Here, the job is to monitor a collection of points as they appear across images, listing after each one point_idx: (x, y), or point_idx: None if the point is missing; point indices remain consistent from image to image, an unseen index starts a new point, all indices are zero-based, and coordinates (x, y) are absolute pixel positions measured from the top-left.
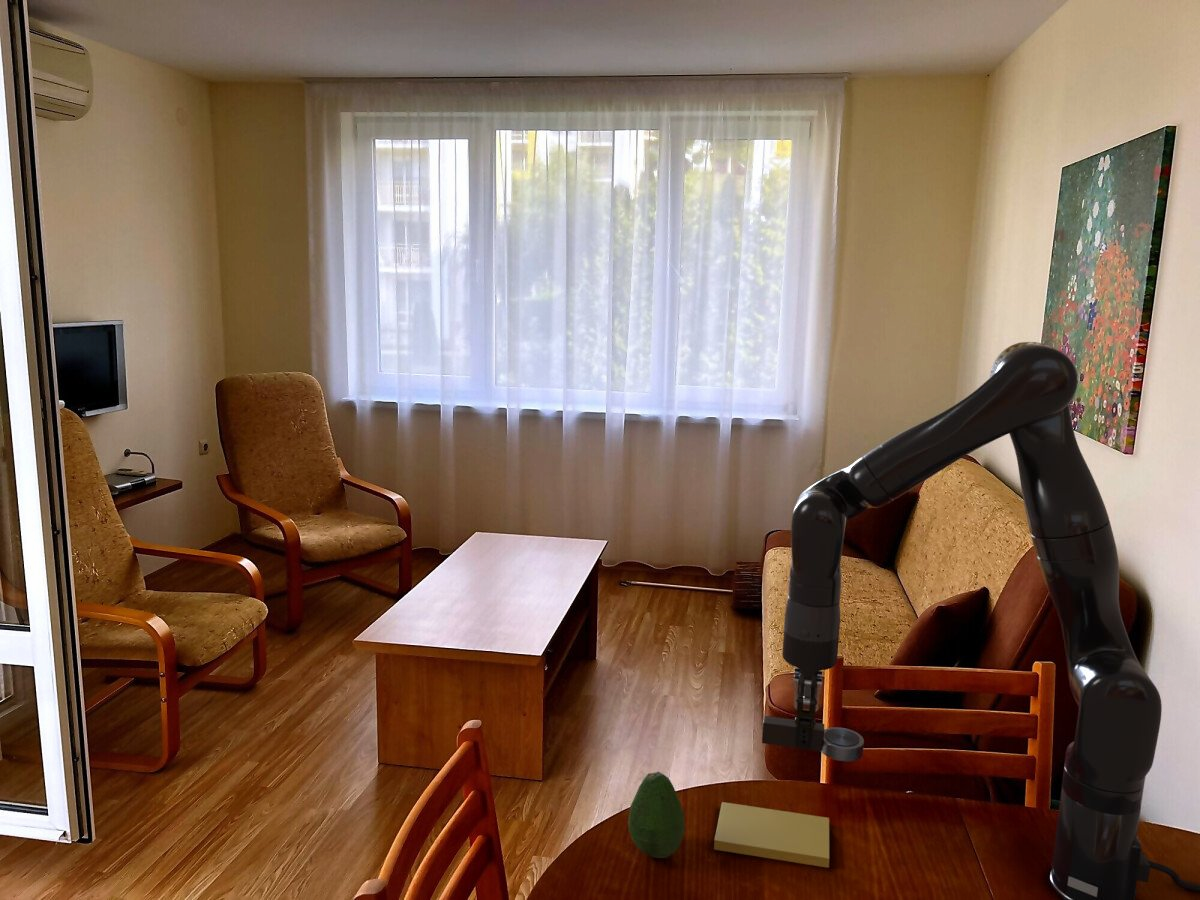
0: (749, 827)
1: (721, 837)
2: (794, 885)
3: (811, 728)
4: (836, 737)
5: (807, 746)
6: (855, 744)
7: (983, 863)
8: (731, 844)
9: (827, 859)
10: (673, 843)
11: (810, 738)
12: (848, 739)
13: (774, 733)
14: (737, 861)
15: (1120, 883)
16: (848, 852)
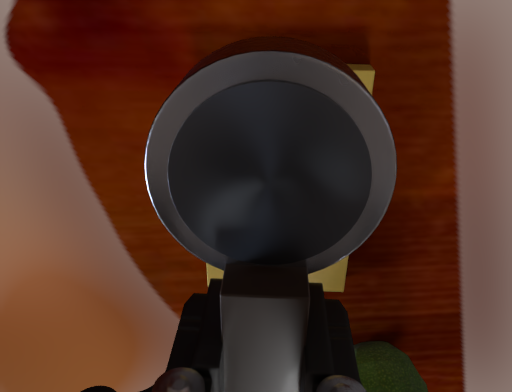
0: None
1: (332, 282)
2: (439, 139)
3: (331, 365)
4: (281, 211)
5: (341, 308)
6: (345, 110)
7: None
8: (347, 263)
9: (374, 74)
10: (414, 368)
11: (325, 322)
12: (290, 149)
13: None
14: (370, 241)
15: None
16: (297, 11)
